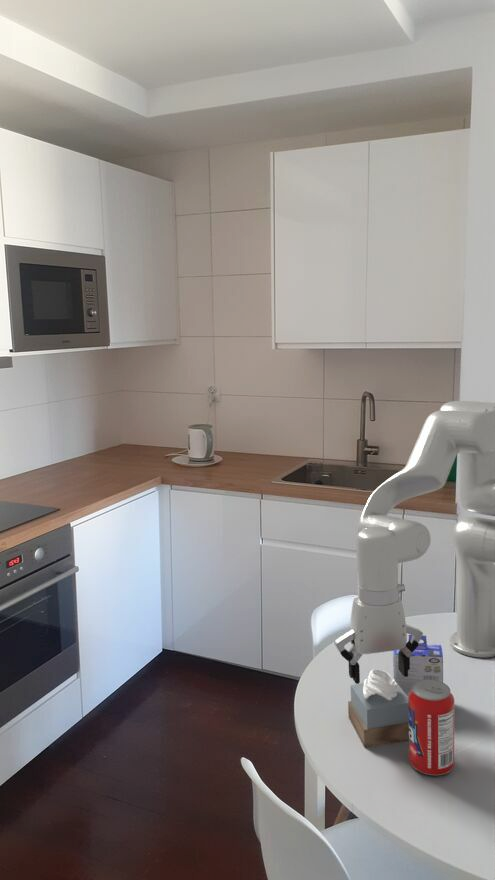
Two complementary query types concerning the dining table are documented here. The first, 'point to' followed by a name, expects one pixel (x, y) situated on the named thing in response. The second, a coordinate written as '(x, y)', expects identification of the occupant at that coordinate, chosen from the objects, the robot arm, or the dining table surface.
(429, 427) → the robot arm
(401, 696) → the top block
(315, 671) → the dining table surface
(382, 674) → the white cloth bundle
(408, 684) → the ink cartridge box
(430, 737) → the soda can
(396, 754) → the dining table surface
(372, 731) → the base block
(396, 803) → the dining table surface
